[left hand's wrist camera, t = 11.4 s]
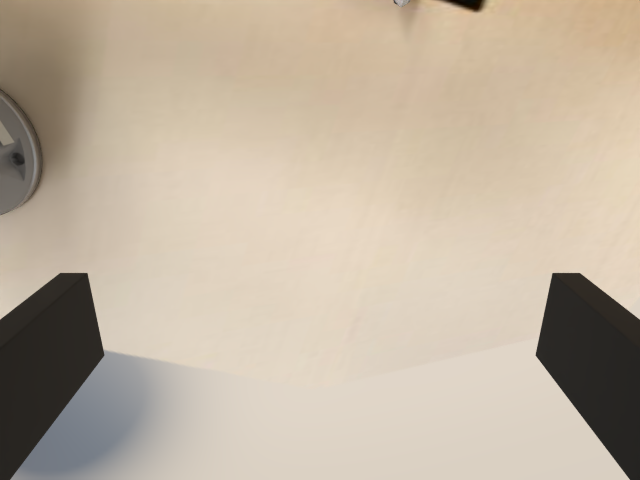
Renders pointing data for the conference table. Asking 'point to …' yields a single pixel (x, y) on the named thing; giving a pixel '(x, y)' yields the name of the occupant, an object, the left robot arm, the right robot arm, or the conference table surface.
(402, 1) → the fish
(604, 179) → the conference table surface
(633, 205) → the conference table surface
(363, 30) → the conference table surface
